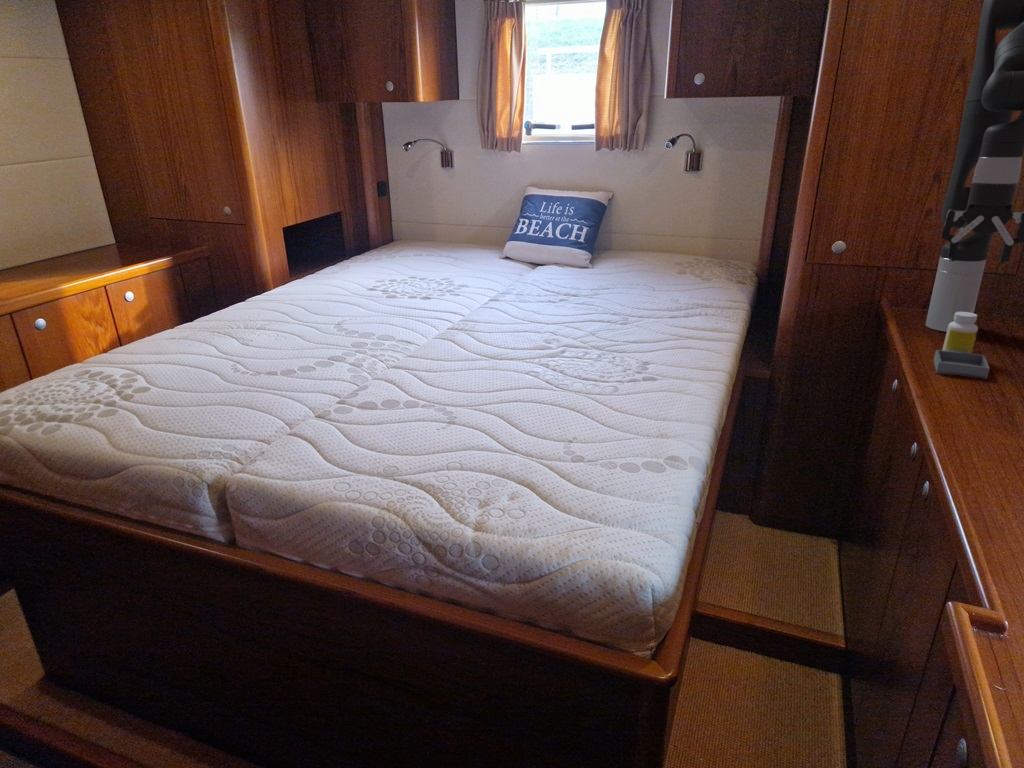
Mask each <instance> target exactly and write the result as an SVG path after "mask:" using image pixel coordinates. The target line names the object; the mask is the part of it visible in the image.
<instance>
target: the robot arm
mask: <svg viewBox="0 0 1024 768" xmlns="http://www.w3.org/2000/svg"><path fill="white" fill-rule="evenodd" d="M981 6H982V7H981V13H980V19H979V27H978V33H977V34H978V35H977V42H976V47H975V48H976V49H975V55H974V56H975V57H974V62H973V66H972V67H973V68H972V71H971V72H972V73H971V76H970V82H969V85H968V89H967V94H966V98H965V101H964V107H963V112H962V118H961V123H960V129H959V135H958V142H957V147H956V152H955V159H954V162H953V165H952V170H951V175H950V178H949V182H948V186H947V189H946V193H945V196H944V201H943V206H942V210H941V211H942V212H941V223H942V226H943V227H942V230H941V234H940V237H941V238H942V240H945V241H947V242H946V243H945V244H943V245H942V247H941V250H940V255H939V259H938V265H937V269H936V274H935V278H934V279H935V280H934V285H933V288H932V294H931V297H930V302H929V307H928V311H927V316H926V321H925V326H926V327H927V328H929V329H932V330H935V331H941V332H944V333H945V332H946V333H947V328H948V325H949V324H950V323H951V322H954V321H955V320H954V315H955V313H956V312H970V313H974V314H975V309H976V303H977V300H978V296H979V292H980V287H981V283H982V279H983V275H984V271H985V268H986V267H985V266H986V262H987V258H988V253H989V250H990V249H989V248H990V246H991V241H992V238H993V234H994V233H996V232H997V233H998V235H999V236H1000V238H1001V239H1002V240H1003V241H1004V244H1002V245H1001V246H1002V247H1001V251H1000V254H999V257H998V258H999V259H998V264H1002V265H1004V264H1005V263H1006V262H1009V260H1010V259H1011V254H1012V250H1013V246H1014V245H1017V244H1023V243H1024V210H1023V211H1021V212H1015V211H1014V212H1013V210H1012V209H1013V208H1012V207H1013V204H1014V199H1015V195H1016V191H1017V187H1018V183H1019V181H1020V177H1021V176H1020V175H1021V170H1022V163H1023V162H1022V161H1023V155H1024V0H983V2H982V5H981ZM1002 30H1004V31H1005V30H1011V31H1010V32H1009V33H1008V34H1006V35H1005V36H1004V37H1003V38H1002V40H1001V41H1000V42H999V44H998V45H997V31H1002ZM1016 111H1017V112H1019V111H1020V113H1019V115H1018V116H1017V117H1016V118H1015V119H1014V120H1012V117H1013V114H1014V112H1016ZM973 169H974V172H973V176H972V181H971V186H965V184H966V182H967V179H968V178H969V175H970V174H971V172H972V171H973ZM1013 218H1014V222H1015V223H1016V224H1018V225H1017V232H1016V235H1015V236H1013V237H1012V236H1011V235H1010V233H1009V231H1008V230H1007V228H1006V227H1005V225H1007V223H1008V222H1010V221H1011V220H1012V219H1013ZM952 229H958V230H957V231H956V232H954V234H951V230H952ZM971 231H972V232H974V233H971V235H968V236H967V234H969V233H970V232H971ZM965 236H967V237H965Z"/></svg>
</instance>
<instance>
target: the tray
mask: <svg viewBox="0 0 1024 768" xmlns="http://www.w3.org/2000/svg"><path fill="white" fill-rule="evenodd" d="M933 357H934V358H933V364H934V368H935V374H939V375H945V374H948V375H947V376H953V375H961V376H968V377H967V378H969V377H976V378H975V379H978V378H983V379H982V380H986V379H987V380H988V377H989V372H990V369H991V368H990V366H989V363H988V361H987V358H986V356H985V354H979V353H972V354H971V353H962V352H952V351H943V350H942V349H935V352H934V356H933ZM961 376H960V377H961Z"/></svg>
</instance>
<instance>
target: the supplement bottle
mask: <svg viewBox="0 0 1024 768" xmlns="http://www.w3.org/2000/svg"><path fill="white" fill-rule="evenodd" d="M977 318H978V314H976V313H975V312H974V313H970V312H956V313H955V315H954V320H955V321H954V322H951V323H950V324H949V325H948V328H947V332H946V334H945V337H944V340H943V345H942V349H941V350H943V351H952V352H962V353H971V354H973V351H974V347H975V343H976V339H977V335H978V330H979V328H978V325H977V324H975V323H976V322H977Z"/></svg>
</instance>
